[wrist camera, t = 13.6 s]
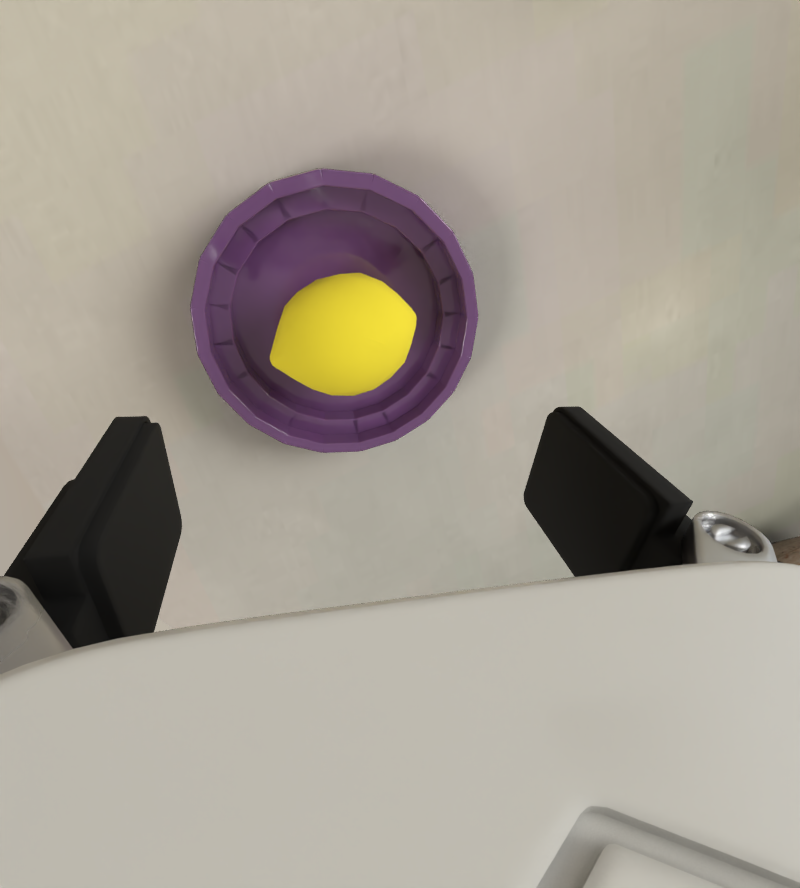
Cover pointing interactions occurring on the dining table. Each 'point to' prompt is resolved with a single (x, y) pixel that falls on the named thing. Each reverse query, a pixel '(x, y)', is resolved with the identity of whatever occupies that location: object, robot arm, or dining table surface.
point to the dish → (318, 256)
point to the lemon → (343, 334)
